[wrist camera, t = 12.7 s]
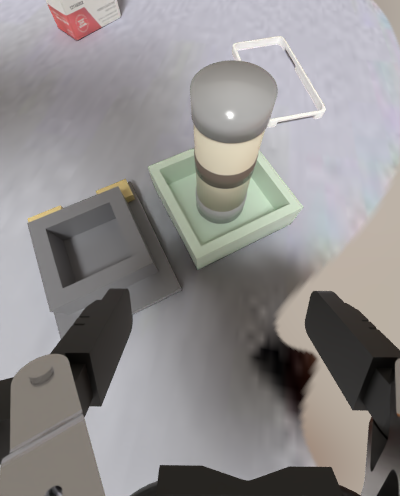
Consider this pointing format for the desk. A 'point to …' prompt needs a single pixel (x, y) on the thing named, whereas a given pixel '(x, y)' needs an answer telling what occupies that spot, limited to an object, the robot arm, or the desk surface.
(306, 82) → the phone case
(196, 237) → the tray
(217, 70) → the grey beige cylinder
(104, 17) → the ink cartridge box
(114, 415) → the desk surface
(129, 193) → the holder
